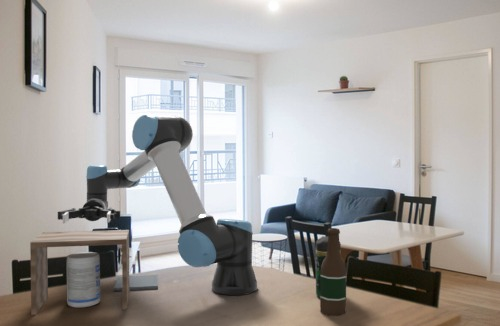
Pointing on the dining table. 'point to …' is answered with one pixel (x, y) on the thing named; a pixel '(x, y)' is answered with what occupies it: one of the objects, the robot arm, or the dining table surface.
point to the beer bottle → (333, 278)
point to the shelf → (72, 239)
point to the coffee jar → (321, 259)
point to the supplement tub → (83, 279)
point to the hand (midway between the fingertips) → (86, 218)
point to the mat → (138, 282)
